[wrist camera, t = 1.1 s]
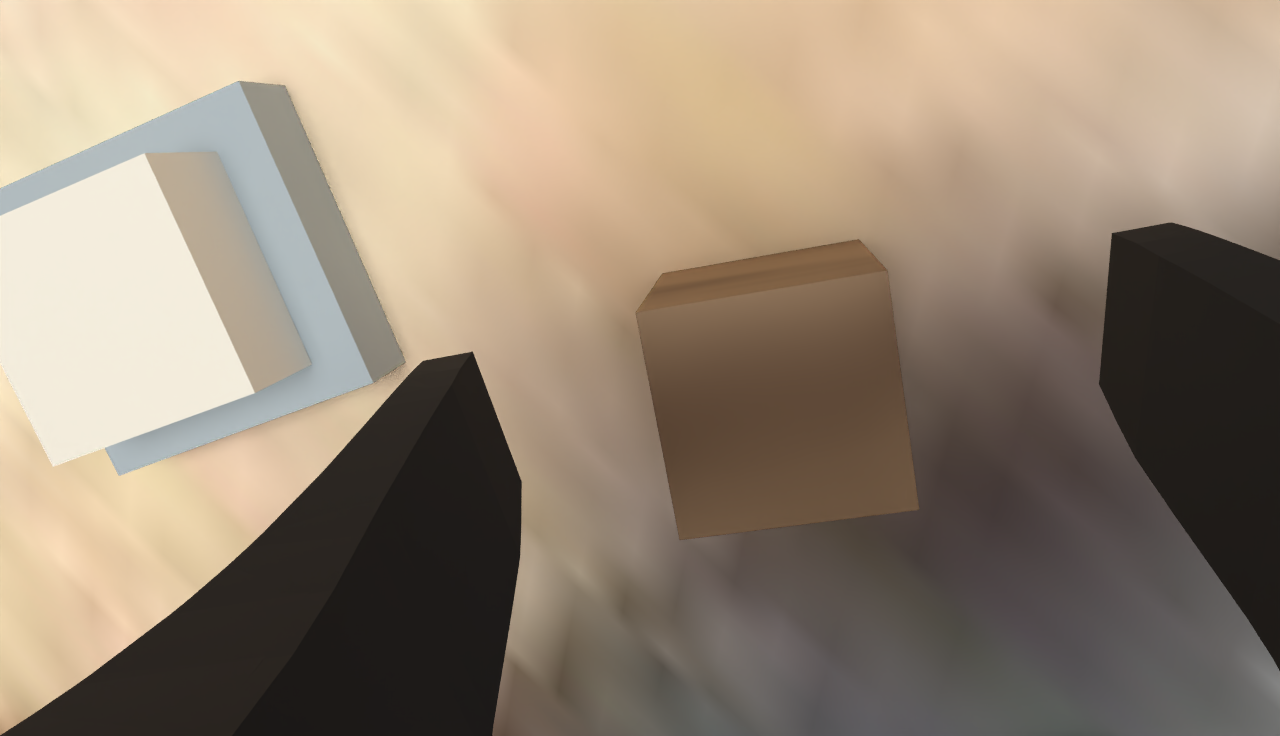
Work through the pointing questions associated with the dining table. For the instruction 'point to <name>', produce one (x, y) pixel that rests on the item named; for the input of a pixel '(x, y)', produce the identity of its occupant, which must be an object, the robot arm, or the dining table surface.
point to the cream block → (137, 303)
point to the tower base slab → (290, 242)
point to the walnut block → (778, 391)
